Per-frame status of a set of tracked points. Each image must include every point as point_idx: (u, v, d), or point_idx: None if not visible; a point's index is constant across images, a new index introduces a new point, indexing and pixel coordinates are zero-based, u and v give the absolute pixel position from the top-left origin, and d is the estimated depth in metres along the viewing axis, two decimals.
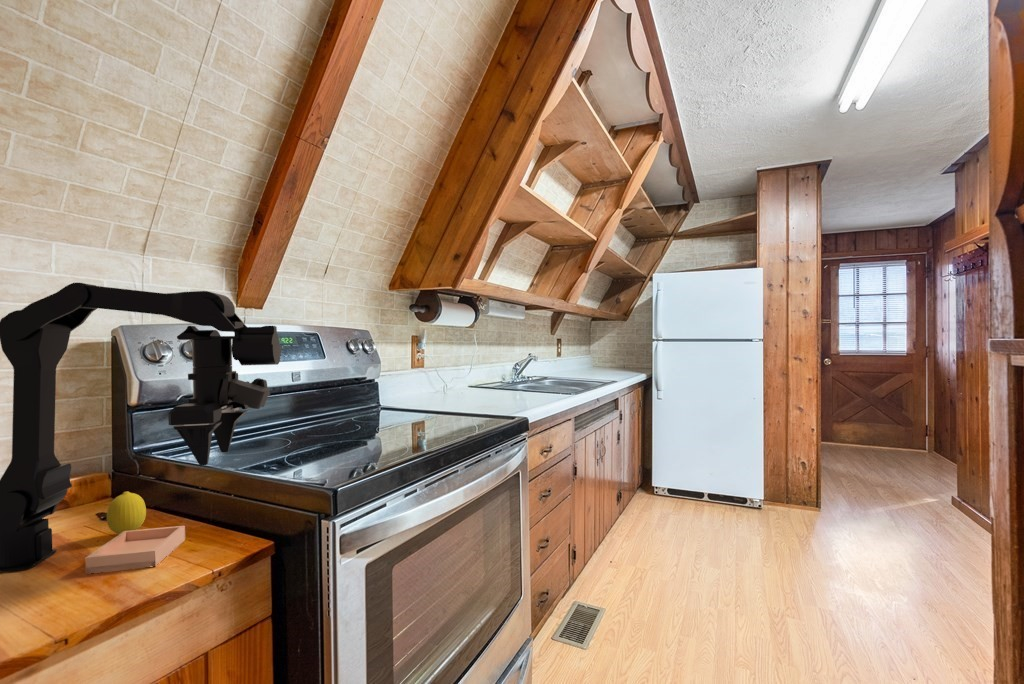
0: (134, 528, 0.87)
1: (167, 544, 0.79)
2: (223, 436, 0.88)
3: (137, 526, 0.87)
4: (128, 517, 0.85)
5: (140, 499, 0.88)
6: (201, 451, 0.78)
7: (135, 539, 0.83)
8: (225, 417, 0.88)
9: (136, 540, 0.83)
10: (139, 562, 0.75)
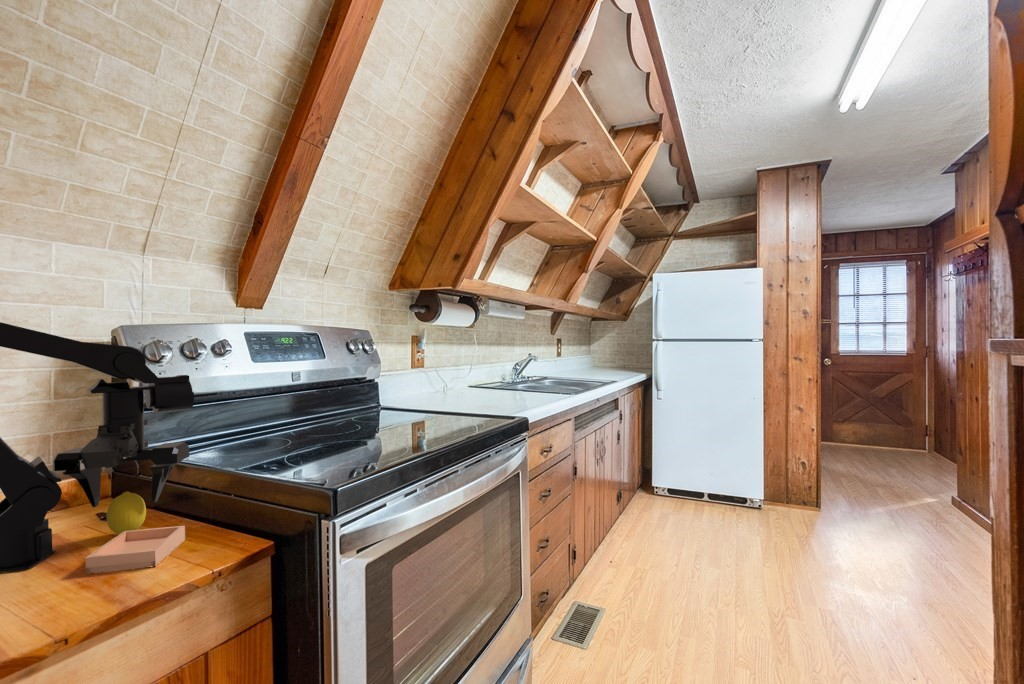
0: (134, 528, 0.87)
1: (167, 544, 0.79)
2: None
3: (137, 526, 0.87)
4: (128, 517, 0.85)
5: (140, 499, 0.88)
6: None
7: (135, 539, 0.83)
8: None
9: (136, 540, 0.83)
10: (139, 562, 0.75)
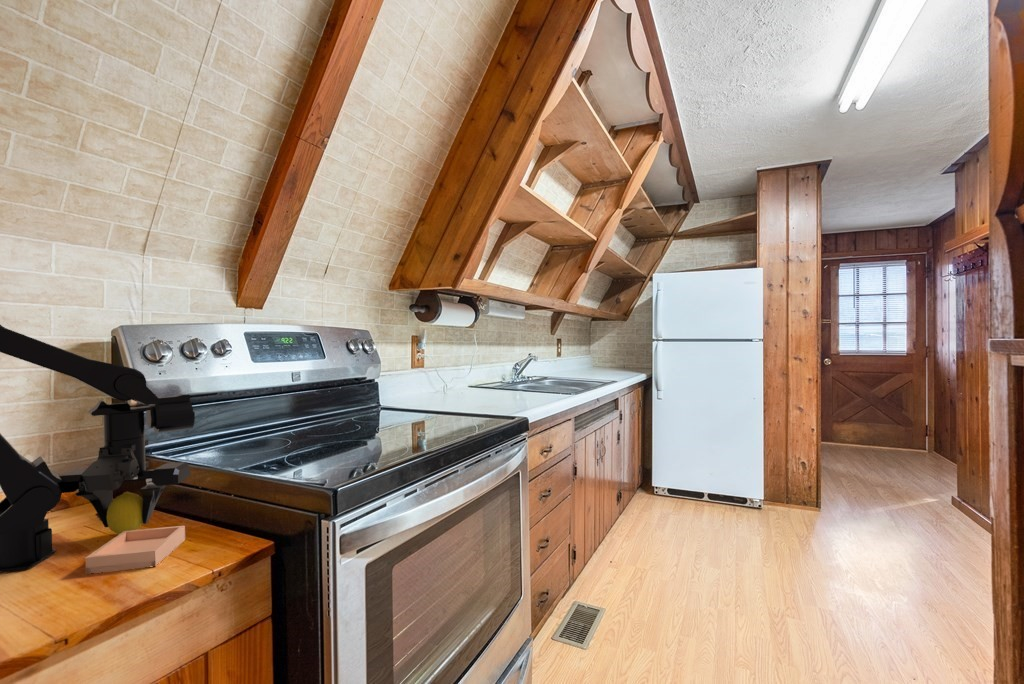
0: (134, 528, 0.87)
1: (167, 544, 0.79)
2: None
3: (137, 526, 0.87)
4: (128, 517, 0.85)
5: (140, 499, 0.88)
6: None
7: (135, 539, 0.83)
8: None
9: (136, 540, 0.83)
10: (139, 562, 0.75)
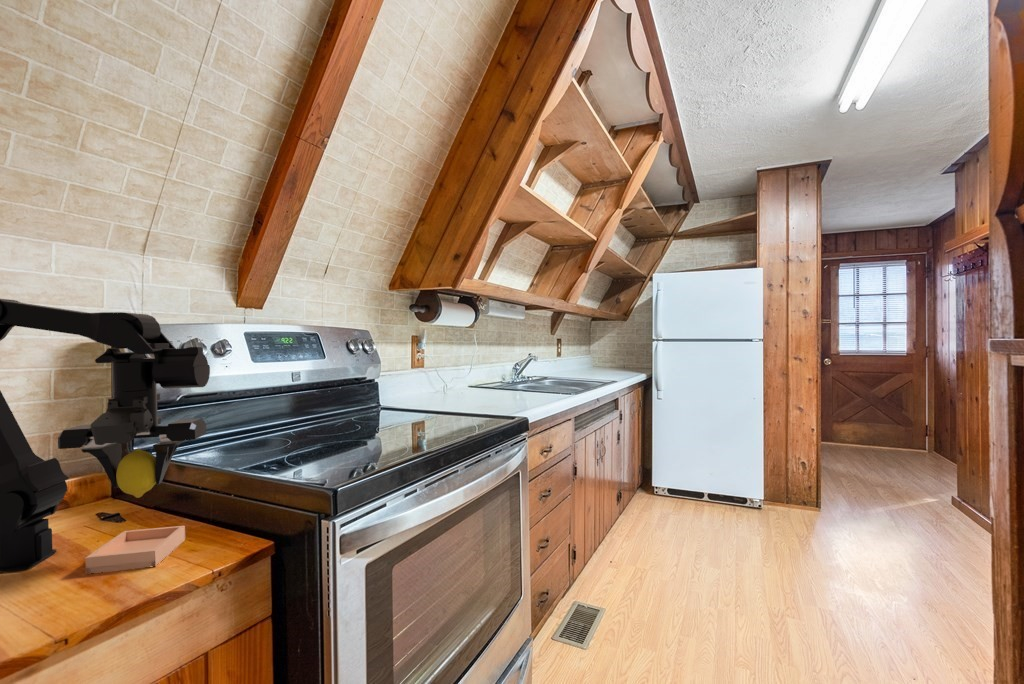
0: (147, 488, 0.79)
1: (167, 544, 0.79)
2: None
3: (150, 486, 0.80)
4: (140, 476, 0.78)
5: (153, 457, 0.81)
6: None
7: (135, 539, 0.83)
8: None
9: (136, 540, 0.83)
10: (139, 562, 0.75)
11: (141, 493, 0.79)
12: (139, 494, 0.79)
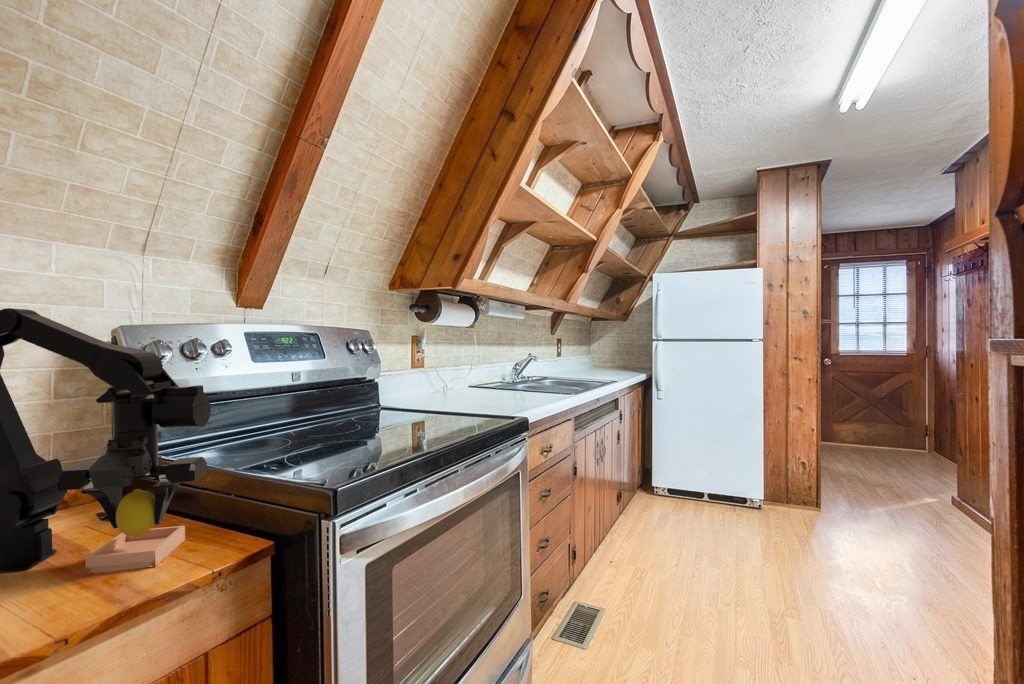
0: (146, 529, 0.78)
1: (167, 544, 0.79)
2: None
3: (149, 527, 0.79)
4: (139, 517, 0.77)
5: (152, 497, 0.80)
6: None
7: (135, 539, 0.83)
8: None
9: (136, 540, 0.83)
10: (139, 562, 0.75)
11: (140, 534, 0.79)
12: (138, 535, 0.79)
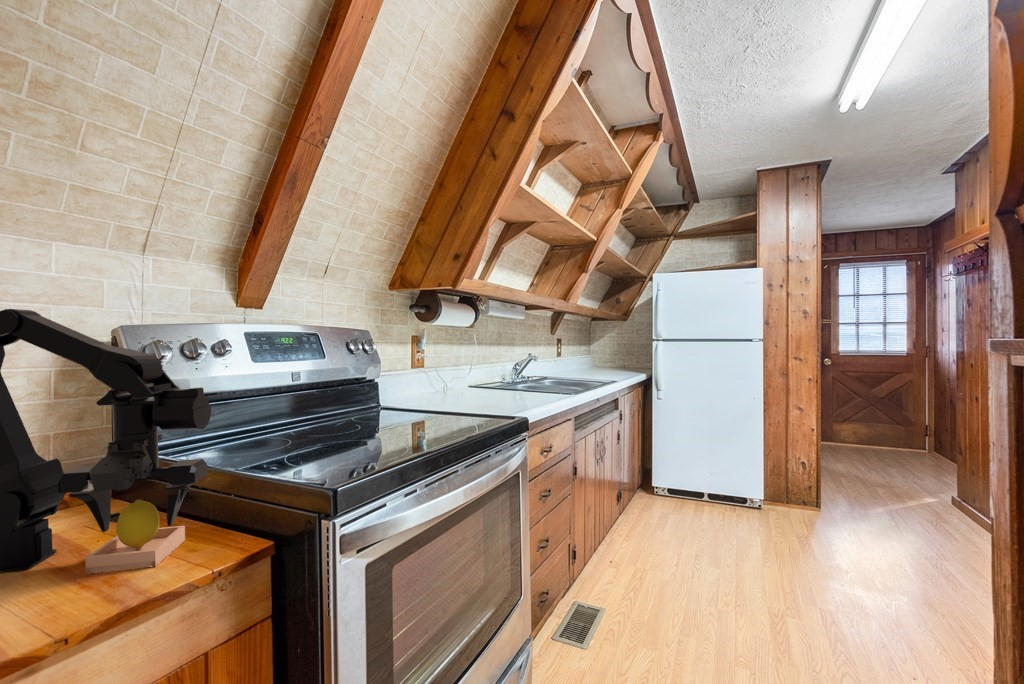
0: (146, 540, 0.79)
1: (167, 544, 0.79)
2: None
3: (150, 538, 0.79)
4: (140, 528, 0.77)
5: (153, 508, 0.80)
6: None
7: None
8: None
9: None
10: (139, 562, 0.75)
11: (141, 545, 0.79)
12: (139, 546, 0.79)
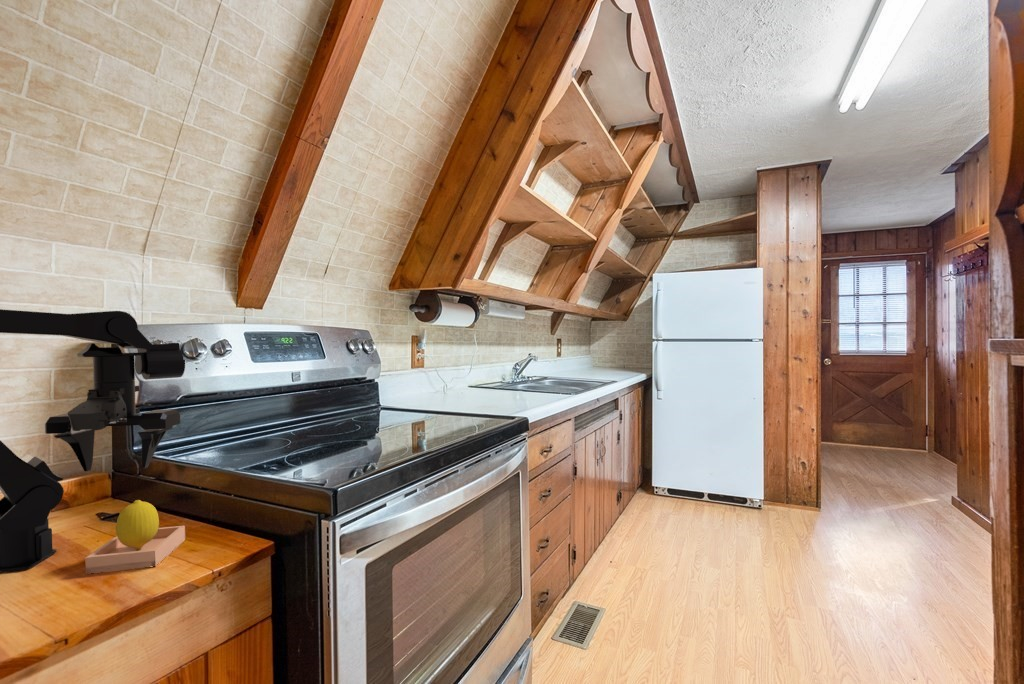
0: (146, 540, 0.78)
1: (167, 544, 0.79)
2: None
3: (149, 538, 0.79)
4: (139, 529, 0.77)
5: (153, 508, 0.80)
6: None
7: None
8: None
9: None
10: (139, 562, 0.75)
11: (141, 545, 0.79)
12: (139, 546, 0.79)
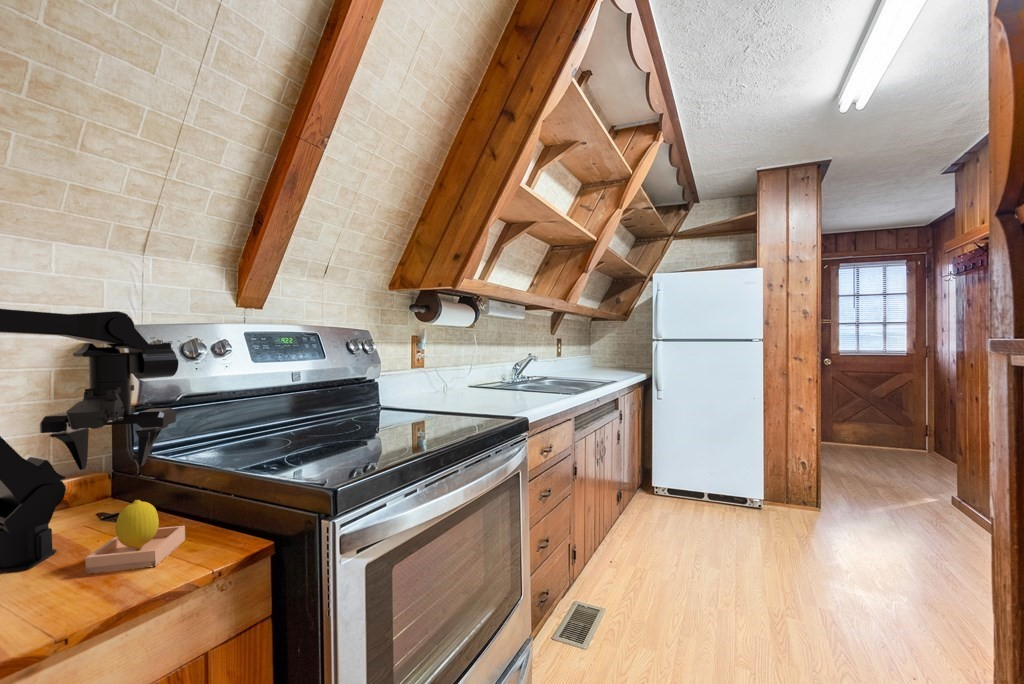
0: (146, 540, 0.78)
1: (167, 544, 0.79)
2: None
3: (149, 538, 0.79)
4: (139, 529, 0.77)
5: (152, 508, 0.80)
6: None
7: None
8: None
9: None
10: (139, 562, 0.75)
11: (140, 545, 0.79)
12: (138, 546, 0.79)
